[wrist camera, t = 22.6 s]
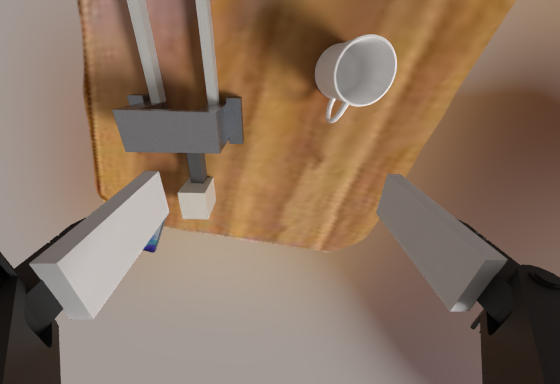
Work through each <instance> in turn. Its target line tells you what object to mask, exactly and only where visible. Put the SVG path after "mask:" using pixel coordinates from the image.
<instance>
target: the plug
mask: <svg viewBox="0 0 560 384" xmlns="http://www.w3.org/2000/svg"><path fill="white" fill-rule="evenodd" d="M187 160H188V166H189V172H190V177H189V178H188V179H187V181H186V182H185V183H184V185H183V186H182V187H181V189H180V190H179V191H178V198H179V203H180V208H181V212H182V217H183V219H209V216H210V214H211V212H212V209H213V207H214V204H215V202H216V198H215V188H214V179H213V177H207V172H206V163H205V155H204V153H187Z"/></svg>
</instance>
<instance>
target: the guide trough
mask: <svg viewBox="0 0 560 384" xmlns="http://www.w3.org/2000/svg"><path fill="white" fill-rule="evenodd" d="M195 1H196V9H197V17H198V26H199V34H200V42H201V50H202V59H203V67H204V75H205V83H206V92H207V100H208V104H218V103H220V100H219V89H218V79H217V68H216V58H215V48H214V37H213V27H212V17H211V6H210V0H195ZM127 4H128V8H129V12H130V16H131V20H132V25H133V29H134V33H135V37H136V41H137V45H138V50H139V54H140V58H141V62H142V66H143V71H144V75H145V79H146V83H147V87H148V91H149V96H150V100H151V103H162V102H165V101H166V97H165V92H164V87H163V82H162V77H161V73H160V68H159V63H158V58H157V53H156V49H155V44H154V39H153V34H152V29H151V24H150V20H149V15H148V10H147V5H146V0H127Z"/></svg>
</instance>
